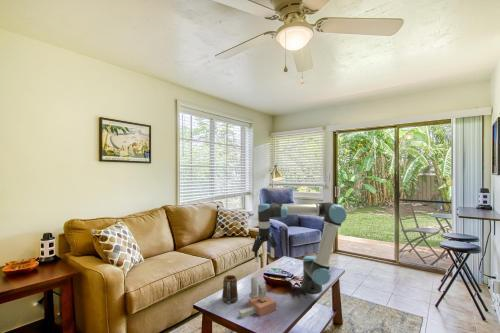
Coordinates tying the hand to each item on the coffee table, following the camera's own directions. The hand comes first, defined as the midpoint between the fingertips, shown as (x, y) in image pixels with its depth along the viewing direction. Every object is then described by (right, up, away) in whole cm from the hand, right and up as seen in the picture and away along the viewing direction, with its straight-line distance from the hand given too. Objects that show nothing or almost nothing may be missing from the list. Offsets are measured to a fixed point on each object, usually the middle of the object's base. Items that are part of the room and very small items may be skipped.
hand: (264, 259), depth 170 cm
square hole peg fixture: (-8, -27, -10) cm, 30 cm away
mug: (-23, -28, -1) cm, 36 cm away
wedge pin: (-2, -27, -10) cm, 29 cm away
